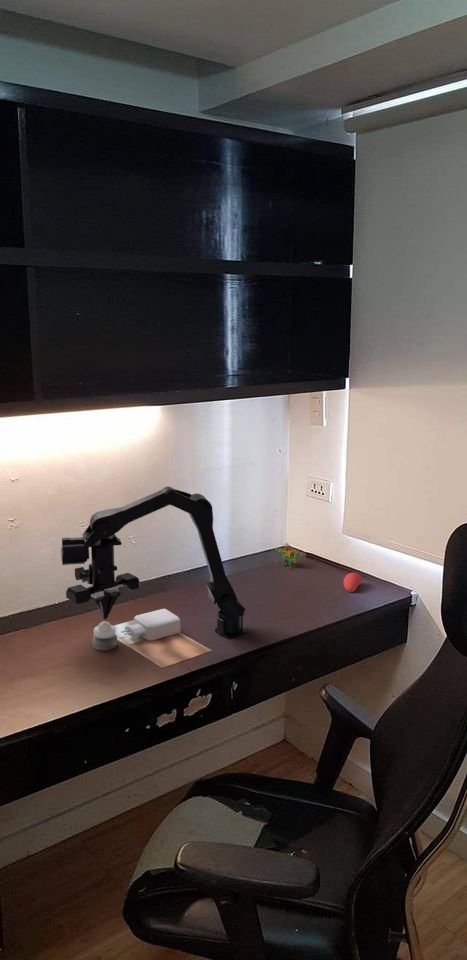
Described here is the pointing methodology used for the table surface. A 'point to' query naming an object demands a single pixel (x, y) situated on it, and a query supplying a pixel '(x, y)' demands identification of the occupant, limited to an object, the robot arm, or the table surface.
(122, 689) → the table surface
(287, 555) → the figurine
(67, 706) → the table surface
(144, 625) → the charger
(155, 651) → the game board
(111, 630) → the dome
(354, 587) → the stress ball
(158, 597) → the table surface
